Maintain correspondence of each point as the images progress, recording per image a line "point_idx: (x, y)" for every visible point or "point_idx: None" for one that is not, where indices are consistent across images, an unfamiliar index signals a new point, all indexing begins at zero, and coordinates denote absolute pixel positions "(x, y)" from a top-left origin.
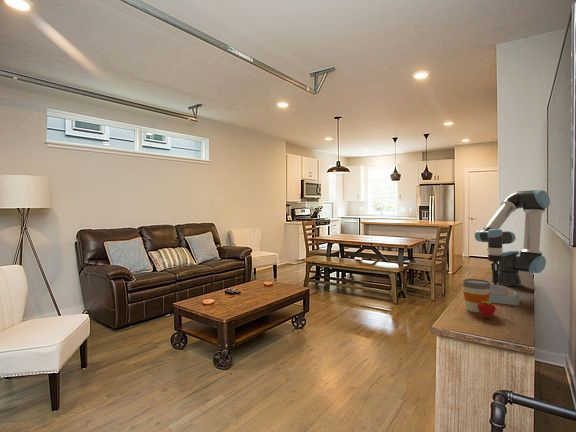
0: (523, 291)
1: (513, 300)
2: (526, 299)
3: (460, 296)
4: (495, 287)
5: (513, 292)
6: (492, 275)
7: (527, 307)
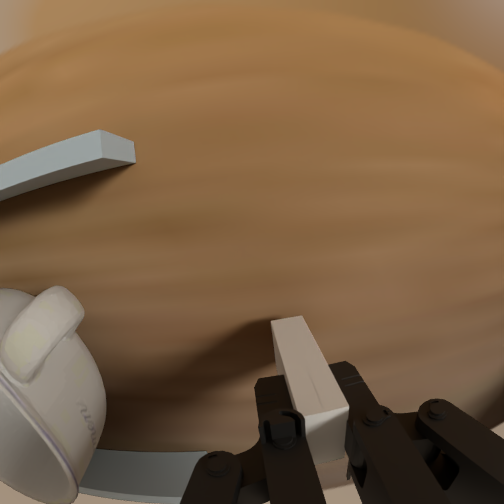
0: None
1: None
2: None
3: (3, 56)
4: (59, 422)
5: None
6: (485, 451)
7: None
